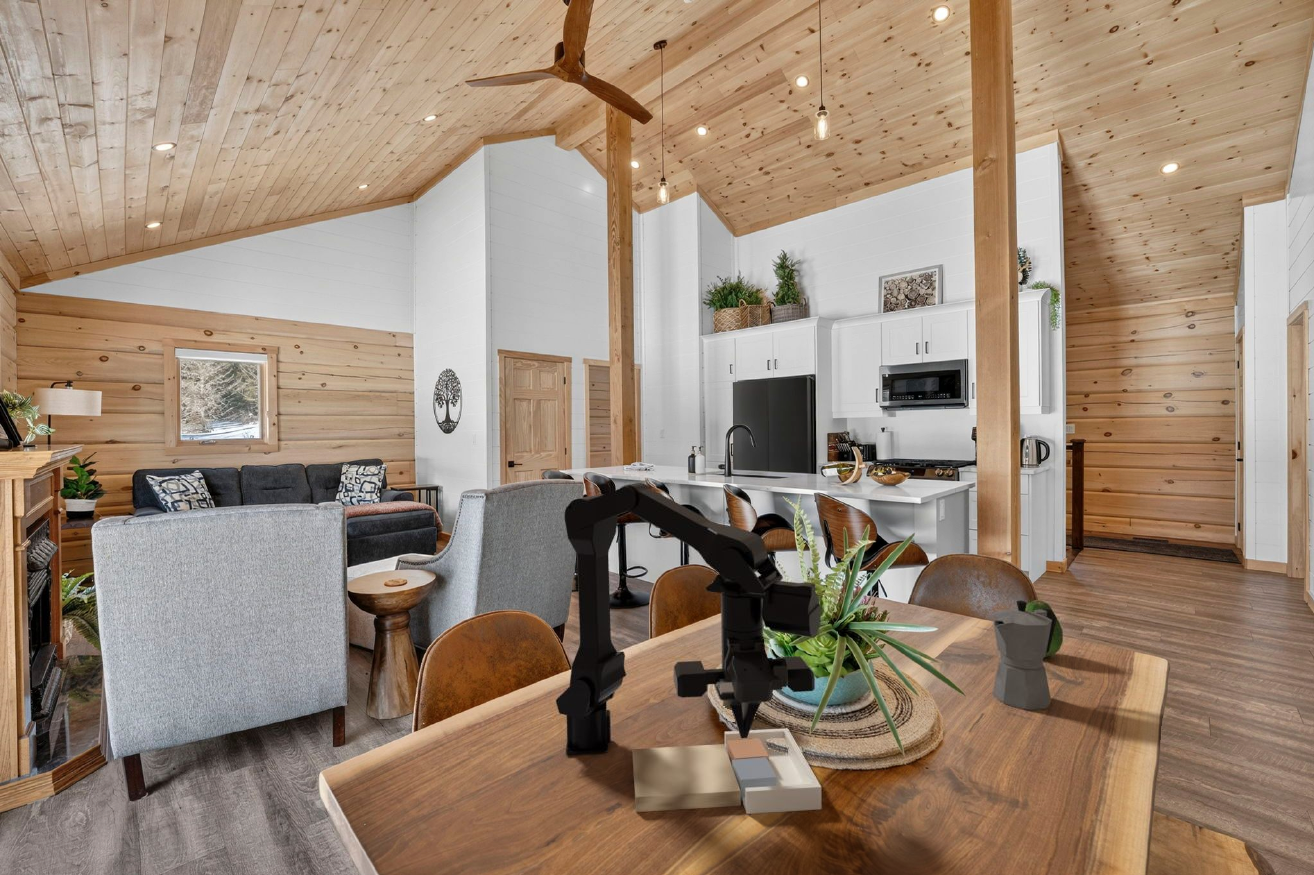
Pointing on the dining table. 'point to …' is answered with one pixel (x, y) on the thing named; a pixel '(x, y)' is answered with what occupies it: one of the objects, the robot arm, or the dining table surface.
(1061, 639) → the avocado
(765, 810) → the tray
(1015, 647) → the coffeepot
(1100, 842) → the dining table surface
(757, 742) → the tile terracotta
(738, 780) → the grey-blue rounded block
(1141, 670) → the dining table surface
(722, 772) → the board
